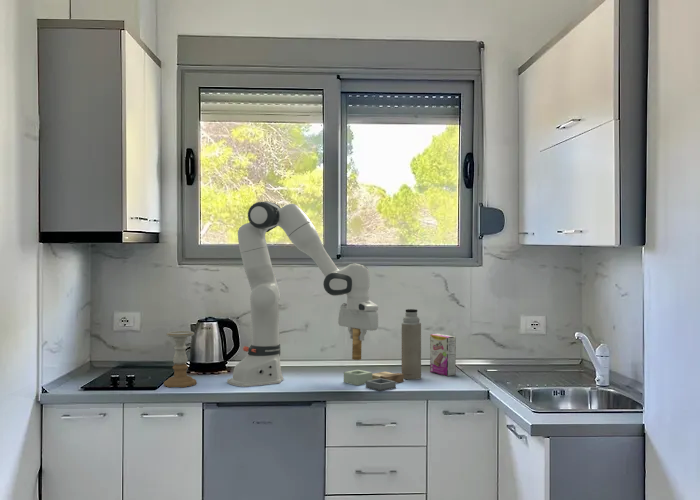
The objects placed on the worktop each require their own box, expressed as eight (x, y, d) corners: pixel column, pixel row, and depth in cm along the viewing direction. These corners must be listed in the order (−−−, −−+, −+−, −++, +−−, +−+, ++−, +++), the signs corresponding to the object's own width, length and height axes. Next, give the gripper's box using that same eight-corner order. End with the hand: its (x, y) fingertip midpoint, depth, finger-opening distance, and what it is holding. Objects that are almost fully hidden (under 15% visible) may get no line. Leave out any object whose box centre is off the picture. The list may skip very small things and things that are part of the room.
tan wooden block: (380, 384, 242) (380, 376, 242) (368, 381, 247) (369, 374, 247) (397, 381, 248) (397, 374, 248) (385, 378, 253) (385, 371, 253)
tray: (380, 391, 229) (380, 384, 229) (365, 387, 235) (365, 380, 235) (395, 388, 234) (395, 381, 234) (381, 384, 240) (381, 378, 240)
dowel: (356, 360, 242) (356, 329, 242) (350, 358, 244) (350, 328, 245) (363, 359, 244) (363, 328, 244) (357, 358, 247) (357, 327, 247)
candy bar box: (429, 372, 265) (429, 334, 265) (438, 371, 268) (438, 333, 268) (447, 376, 256) (447, 336, 256) (456, 375, 259) (456, 336, 259)
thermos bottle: (397, 378, 253) (397, 309, 253) (407, 374, 259) (407, 308, 260) (415, 380, 248) (415, 310, 248) (424, 377, 255) (424, 309, 255)
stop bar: (385, 384, 239) (385, 377, 239) (380, 383, 242) (380, 376, 242) (403, 381, 246) (403, 373, 246) (398, 380, 248) (398, 372, 248)
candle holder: (203, 383, 243) (203, 331, 243) (182, 389, 232) (182, 335, 232) (178, 380, 248) (178, 330, 248) (156, 386, 237) (156, 333, 237)
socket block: (357, 385, 238) (357, 375, 238) (343, 382, 245) (343, 372, 245) (372, 382, 244) (372, 372, 244) (358, 379, 250) (358, 369, 250)
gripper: (335, 302, 250) (334, 337, 250) (369, 307, 235) (368, 343, 235) (346, 302, 254) (346, 336, 254) (381, 306, 239) (380, 342, 239)
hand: (357, 339), depth 244 cm, fingers closed on dowel, 4 cm apart
